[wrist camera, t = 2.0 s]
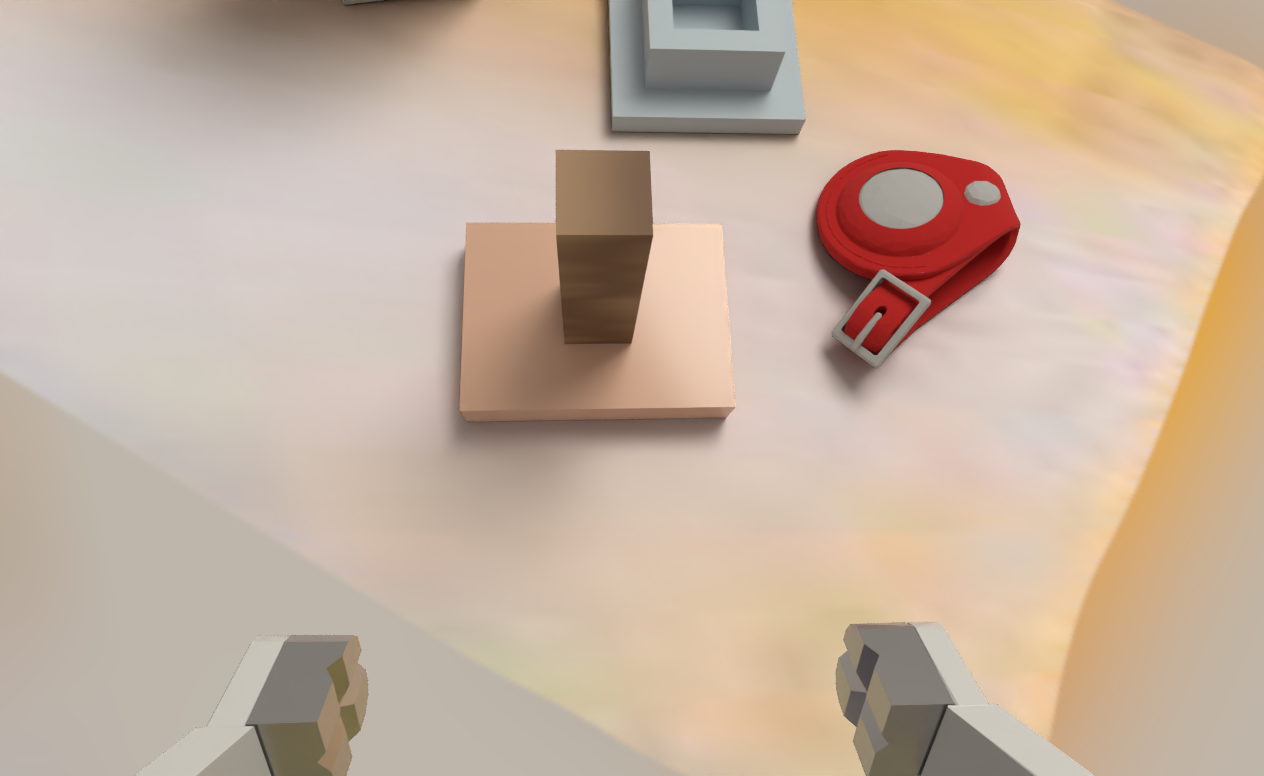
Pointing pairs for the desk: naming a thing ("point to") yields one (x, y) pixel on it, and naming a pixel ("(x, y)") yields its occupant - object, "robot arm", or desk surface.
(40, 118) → the desk surface
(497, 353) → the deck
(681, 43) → the grey square socket base
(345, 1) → the skincare box
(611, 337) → the post
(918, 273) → the tracker holder
